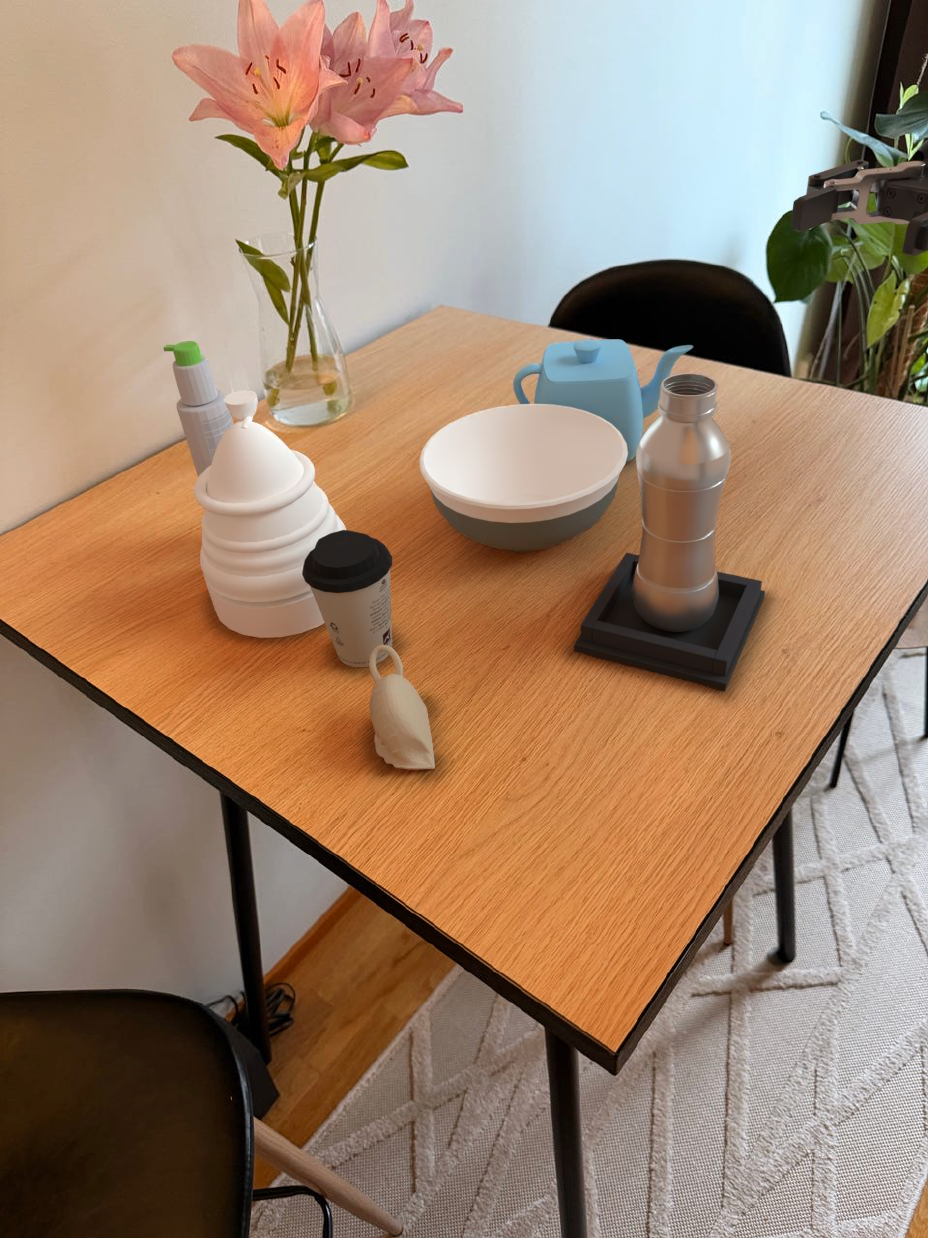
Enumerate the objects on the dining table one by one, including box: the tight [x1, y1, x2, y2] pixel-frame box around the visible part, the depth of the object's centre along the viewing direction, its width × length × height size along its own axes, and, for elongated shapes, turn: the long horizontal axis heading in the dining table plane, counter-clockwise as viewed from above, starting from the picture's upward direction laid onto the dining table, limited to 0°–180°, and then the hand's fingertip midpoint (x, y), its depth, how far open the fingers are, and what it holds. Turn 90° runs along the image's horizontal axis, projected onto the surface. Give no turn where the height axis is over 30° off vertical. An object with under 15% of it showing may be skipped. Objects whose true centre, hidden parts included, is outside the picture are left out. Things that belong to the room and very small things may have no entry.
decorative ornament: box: [368, 645, 436, 770], centre depth 65 cm, size 4×8×5 cm, turn 6°
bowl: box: [418, 403, 628, 553], centre depth 84 cm, size 19×19×8 cm
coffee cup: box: [302, 529, 393, 668], centre depth 71 cm, size 7×7×10 cm
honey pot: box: [193, 389, 347, 639], centre depth 76 cm, size 13×13×18 cm
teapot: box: [512, 338, 694, 463], centre depth 94 cm, size 12×18×12 cm
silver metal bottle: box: [632, 372, 732, 632], centre depth 67 cm, size 6×7×20 cm
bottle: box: [163, 340, 235, 478], centre depth 82 cm, size 4×4×20 cm
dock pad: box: [573, 552, 766, 692], centre depth 73 cm, size 12×12×2 cm
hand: (850, 227), depth 61 cm, fingers open, 8 cm apart
